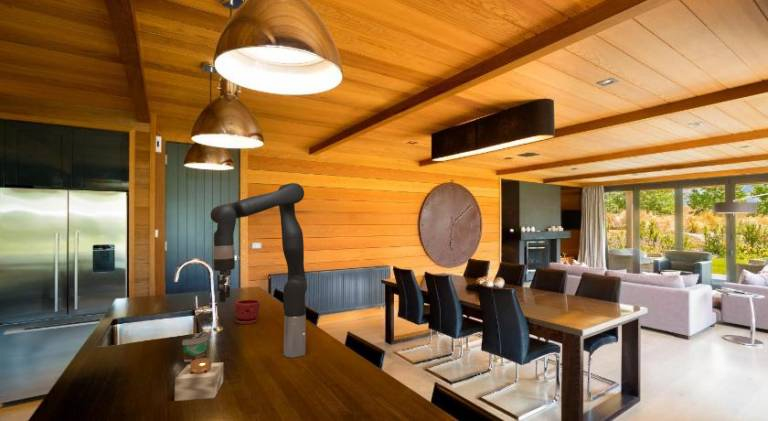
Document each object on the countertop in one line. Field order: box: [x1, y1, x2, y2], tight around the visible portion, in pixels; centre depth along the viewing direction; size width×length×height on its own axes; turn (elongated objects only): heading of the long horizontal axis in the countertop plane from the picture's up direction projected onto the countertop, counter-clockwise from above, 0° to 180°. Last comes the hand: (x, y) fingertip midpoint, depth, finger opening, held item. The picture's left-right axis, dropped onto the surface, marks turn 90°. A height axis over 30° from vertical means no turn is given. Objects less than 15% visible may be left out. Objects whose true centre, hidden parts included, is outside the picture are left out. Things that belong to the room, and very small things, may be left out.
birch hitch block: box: [174, 362, 224, 402], centre depth 124 cm, size 12×12×7 cm
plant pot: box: [235, 299, 261, 325], centre depth 208 cm, size 13×13×12 cm
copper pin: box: [189, 357, 212, 374], centre depth 124 cm, size 6×6×10 cm
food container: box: [181, 331, 210, 365], centre depth 152 cm, size 12×6×10 cm, turn 168°
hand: (224, 299), depth 138 cm, fingers open, 8 cm apart
